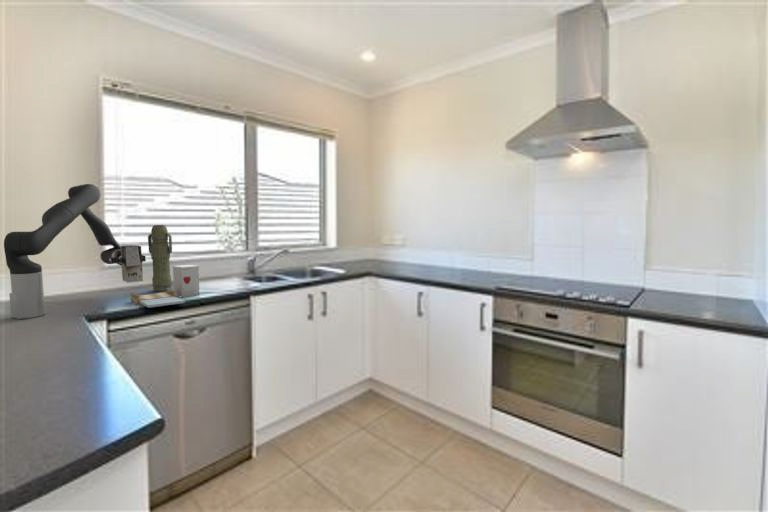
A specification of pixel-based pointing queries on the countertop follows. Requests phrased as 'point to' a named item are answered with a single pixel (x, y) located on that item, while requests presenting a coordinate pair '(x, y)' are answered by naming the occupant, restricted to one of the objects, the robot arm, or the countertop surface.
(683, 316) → the countertop surface
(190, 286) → the supplement box
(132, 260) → the coffee box
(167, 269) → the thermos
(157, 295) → the flatbed
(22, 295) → the robot arm
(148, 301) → the panel
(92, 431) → the countertop surface
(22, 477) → the countertop surface
